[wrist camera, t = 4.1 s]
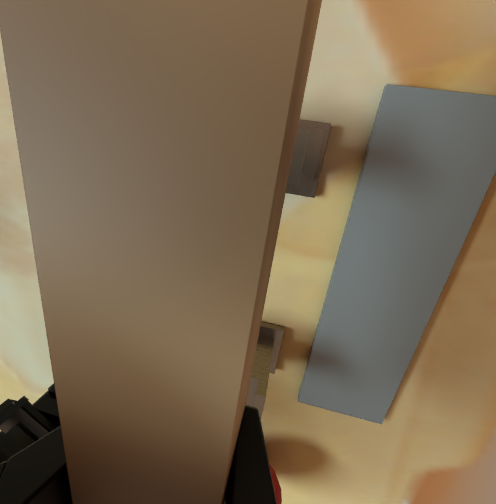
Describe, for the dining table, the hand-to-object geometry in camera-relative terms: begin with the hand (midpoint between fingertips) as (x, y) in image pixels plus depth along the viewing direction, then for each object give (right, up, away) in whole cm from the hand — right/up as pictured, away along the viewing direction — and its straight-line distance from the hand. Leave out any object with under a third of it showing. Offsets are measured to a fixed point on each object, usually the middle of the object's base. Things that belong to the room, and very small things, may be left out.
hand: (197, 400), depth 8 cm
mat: (+11, +2, +11) cm, 16 cm away
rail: (0, 0, 0) cm, 0 cm away
